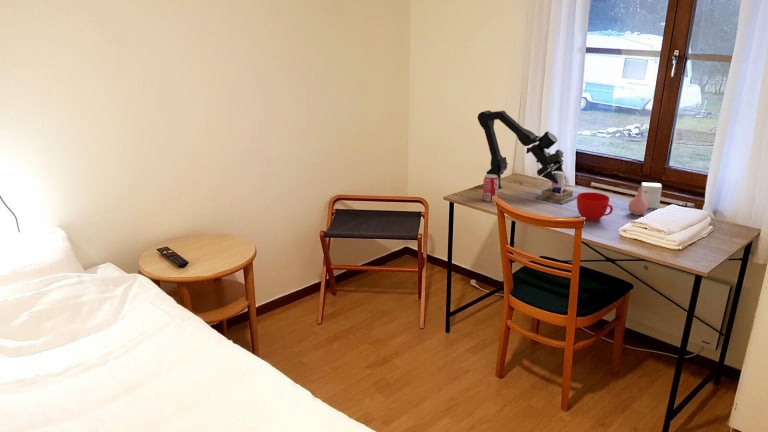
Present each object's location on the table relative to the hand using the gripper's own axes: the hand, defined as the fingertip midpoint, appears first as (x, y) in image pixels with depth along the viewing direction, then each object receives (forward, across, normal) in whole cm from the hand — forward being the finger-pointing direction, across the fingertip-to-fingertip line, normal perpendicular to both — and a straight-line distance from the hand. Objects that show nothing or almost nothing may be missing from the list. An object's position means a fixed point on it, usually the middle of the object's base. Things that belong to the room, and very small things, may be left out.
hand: (561, 180), depth 264 cm
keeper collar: (+5, 0, +7) cm, 9 cm away
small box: (+32, +13, -20) cm, 40 cm away
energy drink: (+5, 0, +7) cm, 8 cm away
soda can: (-12, -21, +25) cm, 35 cm away
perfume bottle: (+32, -2, -19) cm, 37 cm away
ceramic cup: (+23, -20, -10) cm, 32 cm away
